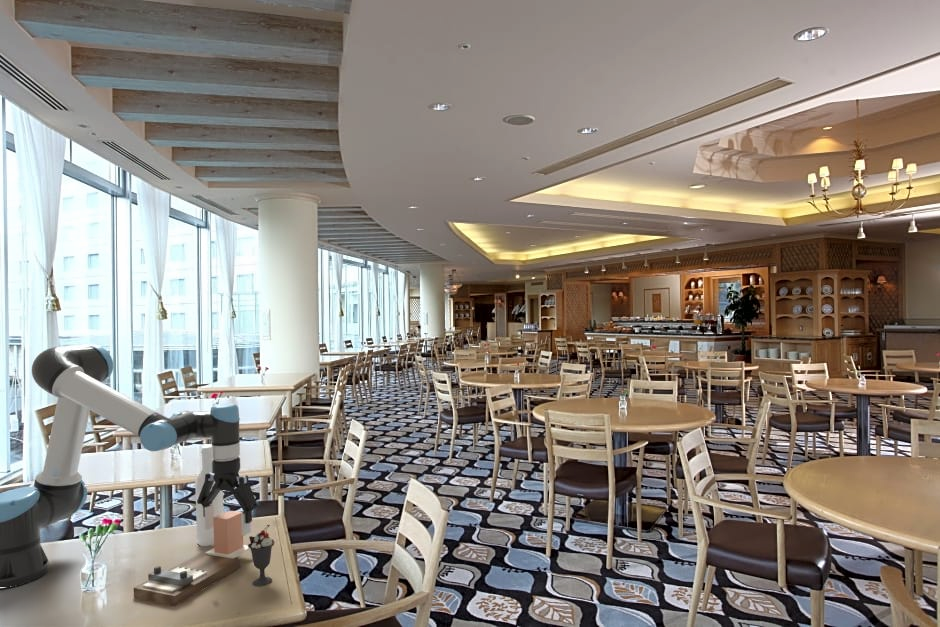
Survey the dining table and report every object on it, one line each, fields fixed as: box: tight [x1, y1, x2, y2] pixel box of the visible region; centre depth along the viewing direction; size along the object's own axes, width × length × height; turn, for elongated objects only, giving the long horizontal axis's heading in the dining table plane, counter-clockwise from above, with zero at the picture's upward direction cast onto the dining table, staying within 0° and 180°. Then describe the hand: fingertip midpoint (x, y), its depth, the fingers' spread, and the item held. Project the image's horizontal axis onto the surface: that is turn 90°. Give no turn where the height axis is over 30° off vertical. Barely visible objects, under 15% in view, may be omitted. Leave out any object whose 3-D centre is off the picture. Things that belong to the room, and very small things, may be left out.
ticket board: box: [133, 552, 242, 607], centre depth 154 cm, size 14×22×6 cm, turn 159°
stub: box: [205, 510, 251, 559], centre depth 167 cm, size 10×8×10 cm
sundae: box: [247, 524, 275, 587], centre depth 153 cm, size 7×7×15 cm
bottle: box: [194, 444, 224, 547], centre depth 181 cm, size 8×8×30 cm
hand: (227, 531), depth 167 cm, fingers open, 13 cm apart
